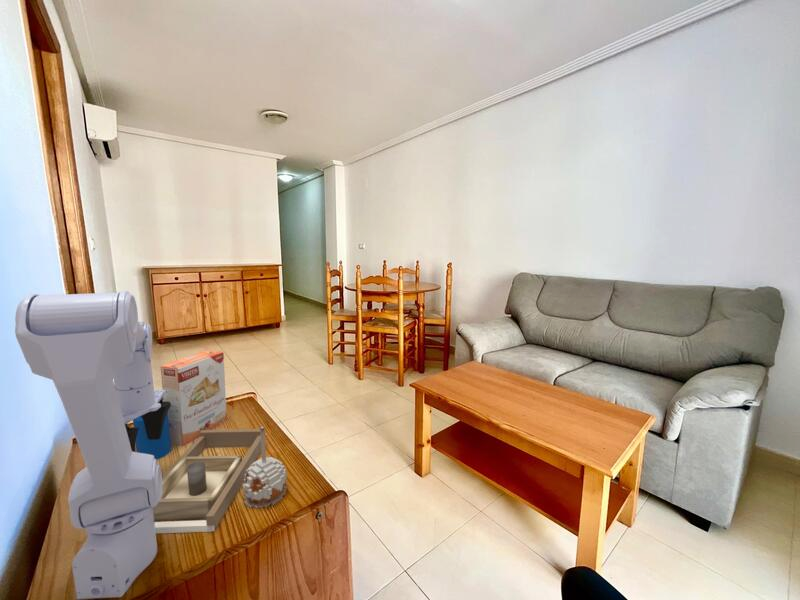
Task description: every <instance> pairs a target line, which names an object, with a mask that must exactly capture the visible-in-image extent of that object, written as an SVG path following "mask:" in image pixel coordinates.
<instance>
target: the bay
mask: <svg viewBox="0 0 800 600" xmlns="http://www.w3.org/2000/svg"><path fill="white" fill-rule="evenodd" d="M199 435H200V436H199V437H198V438H196V439H195V440H194V442H193V443H192V444H191V445H190V446H189V447H188V448H187V449H186V450H185V451H184V452H183V453H182V454H181V455H180V456H179V458H177V460H175V462H174V463H173V464H172V465H171V466H170V467H169V468H168V469H167V470H166V471H165V472H164V473H162V474H163V475H162V480H163V479H164V478H165V477H166V476H167V475H168V474H169V473H170V472H171V471H172V469H173V468H174V467H175V466H176V465H177V464H178V463H179V462H180V461H181V460H182V459H183V458H184V457H196V456H201V454H202V453H203V452H204V450H205V449H206V448H243V447H244V448H249V449H248V450H247V452H246V454H245V455H244V457H242V461H241V463H240V464H239V466H238V468H237V469H236V471H235V472H234V474H233V475H232V477H231V478H230V480H229V481H228V483H227V485H226V486H225V488H224V489H223V491H222V492H221V494H220V495H219V497H218V499H217V500H216V502H215V503H214V505H213V506H212V508H211V509H210V511H209V512H208V514H207V516H206V519H197V520H178V521H177V520H173V521H172V520H169V521H154V523H155V532H156V535H157V534H175V533H176V534H179V533H182V534H183V533H184V534H185V533H205V532H206V533H208V532H215V531H216V530H217V527H218V526H219V525H220V523H221V521H222V519H223V517H224V516H225V514H226V512H227V511H228V509H229V507H230V506H231V504H232V502H233V500H235V499H234V498H235V497H236V495H237V493H238V492H239V490H240V489H241V486H243V484H244V479H245V474H246V470H247V469H248V468H249V467H250V466H251V464H253V462H255V461H257V460H258V457H259V456H260V455H261V454H260V453H261V434H260V428H240V429H239V428H238V429H237V428H235V429H229V428H228V429H227V428H226V429H210V430H201V431H200V432H199Z"/></svg>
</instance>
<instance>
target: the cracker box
mask: <svg viewBox="0 0 800 600" xmlns="http://www.w3.org/2000/svg"><path fill="white" fill-rule="evenodd" d="M224 359H225V357H224V351H220V350H219V351H218V350H211V349H209V350H208V349H207V350H203V351H200V352H198V353H195V354H191V355H188V356H185V357H182V358H179V359H176V360H174V361H170V362H167V363H164V364H161V365H160V375H161V376H160V377H161V388H162V389H161V390H166V397H167V398H166V399H165V400H163V402H170V404H171V406H170V408H169V410H168V419H169V430H170V440H171V445H175V446H176V445H177V446H181V447H185V446H187V445H188V444H190V443H191V442H193V441H195V440H197V439H198V438H199V437H200V435H199V432H200V431H201V430H213V429H214V428H215V427H217V426H219V425H221V424H222V423H223V422H225V421H226V420H228V419H227V418H228V417H227V400H226V399H227V398H226V397H227V395H226V377H225V360H224Z"/></svg>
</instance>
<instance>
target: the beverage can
mask: <svg viewBox="0 0 800 600" xmlns="http://www.w3.org/2000/svg"><path fill="white" fill-rule="evenodd" d="M132 423H133V428H139V430H138V433H137V436H136V441H135V452H137V453H144V454H150V455H154V458H155V459H156V460H157V461H158V460H160V459H162V458H163V457H165V456H167V455H169V453H170V452H171V451H172V444H171V440H170V430H169V419H168V412H167V414H166V417H165V420H164V424H163V429H162V434H161V438H160V439H158V440H149V439H148V437H147V434H146V429H145V425H144V422H143V419H142V417H141V416H139V417H137V418H135V419H133V420H132Z"/></svg>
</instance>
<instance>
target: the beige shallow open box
mask: <svg viewBox="0 0 800 600" xmlns="http://www.w3.org/2000/svg"><path fill="white" fill-rule="evenodd" d="M242 460H243V455H241V454H240V455H206V456H205V455H204V456H203V455H202V456H201V455H199V456H196V457H184V458H183V459H182V460H181V461H180V462H179V463H178V464H177V465H176V466H175V467H174V468H173V469H172V471H171V472H170V473H169V474H168V475H167V476H166V477H165V478H164V479H163V480H162V496H161V500H160V502H159V503H158V504H157V506H155V507H153V514H154V521H172V520H173V521H177V520H178V521H179V520H206V516H207V514H208V512H209V511H210V509H211V508H212V506H213V505H214V503H215V502H216V500H217V499H218V497H219V495H220V494H221V492H222V491H223V489H224V488H225V486H226V485H227V483H228V481H229V480H230V478H231V477H232V475H233V474H234V472H235V471H236V469H237V468H238V466H239V464H240V463H241V461H242Z"/></svg>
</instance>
